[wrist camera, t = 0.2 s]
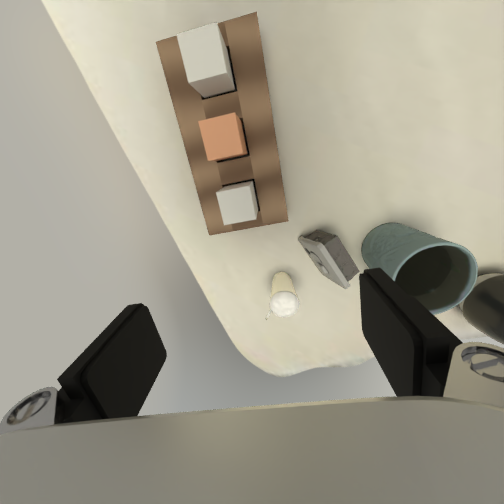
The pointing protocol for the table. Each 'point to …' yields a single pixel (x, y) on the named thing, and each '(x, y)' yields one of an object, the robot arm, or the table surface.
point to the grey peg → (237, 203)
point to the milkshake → (283, 296)
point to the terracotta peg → (223, 137)
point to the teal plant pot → (422, 265)
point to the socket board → (251, 115)
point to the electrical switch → (330, 257)
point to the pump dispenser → (486, 306)
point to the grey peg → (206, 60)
